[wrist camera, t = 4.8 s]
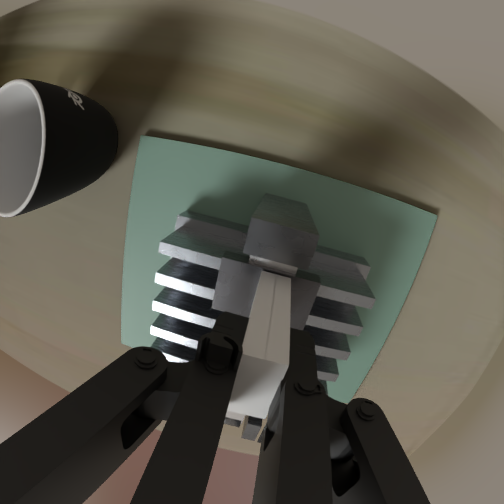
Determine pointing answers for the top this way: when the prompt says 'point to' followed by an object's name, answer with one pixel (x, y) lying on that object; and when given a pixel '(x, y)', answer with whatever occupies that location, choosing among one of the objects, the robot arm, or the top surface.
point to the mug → (50, 144)
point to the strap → (244, 289)
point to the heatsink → (268, 247)
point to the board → (240, 211)
